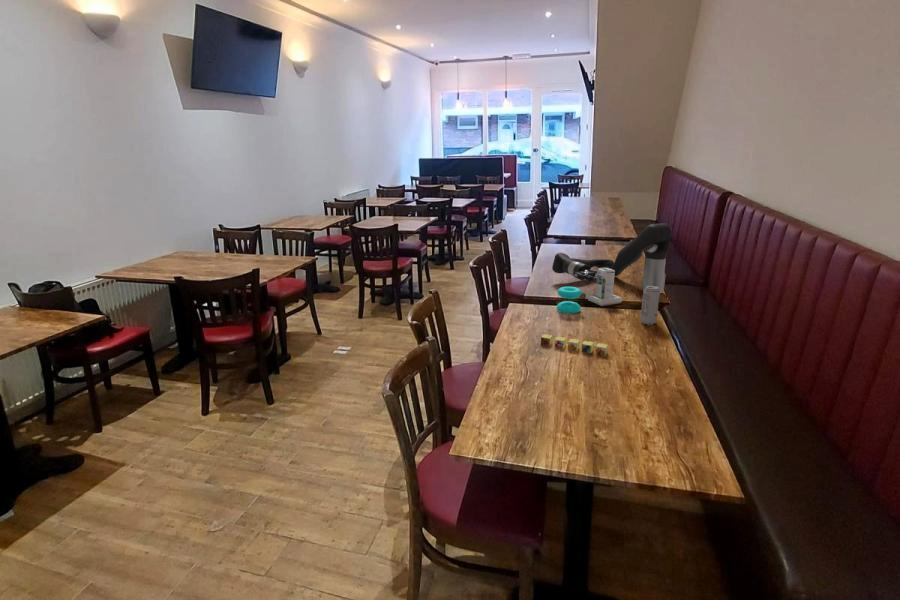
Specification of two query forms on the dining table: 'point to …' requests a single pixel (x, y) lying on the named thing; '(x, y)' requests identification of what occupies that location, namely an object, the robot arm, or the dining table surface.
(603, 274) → the syrup box
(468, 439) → the dining table surface
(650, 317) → the energy drink can
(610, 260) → the robot arm
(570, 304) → the donuts
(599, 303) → the tray
